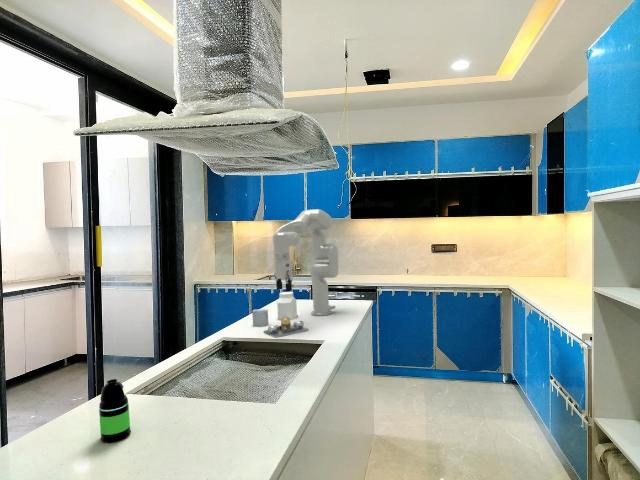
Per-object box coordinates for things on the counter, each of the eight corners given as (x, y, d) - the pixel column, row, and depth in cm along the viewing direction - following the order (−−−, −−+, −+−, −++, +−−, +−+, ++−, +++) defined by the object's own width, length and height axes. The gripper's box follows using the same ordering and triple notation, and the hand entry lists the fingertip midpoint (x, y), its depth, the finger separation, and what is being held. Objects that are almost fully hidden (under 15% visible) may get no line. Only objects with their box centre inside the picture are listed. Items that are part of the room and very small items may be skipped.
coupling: (287, 328, 218) (287, 316, 217) (292, 329, 214) (291, 318, 213) (279, 329, 215) (278, 318, 215) (284, 331, 211) (283, 319, 211)
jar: (289, 320, 240) (288, 294, 239) (275, 319, 244) (274, 294, 243) (299, 316, 250) (298, 291, 250) (285, 315, 254) (284, 291, 254)
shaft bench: (295, 326, 225) (295, 318, 225) (308, 330, 214) (308, 322, 214) (263, 332, 214) (263, 324, 214) (275, 337, 204) (275, 328, 203)
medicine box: (268, 324, 233) (267, 309, 233) (266, 326, 229) (266, 310, 229) (254, 324, 234) (254, 309, 234) (252, 326, 230) (252, 311, 229)
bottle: (99, 446, 106) (95, 388, 105) (101, 434, 112) (98, 379, 112) (130, 439, 109) (127, 382, 108) (131, 427, 115) (127, 374, 115)
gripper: (297, 257, 208) (299, 291, 209) (280, 255, 222) (282, 287, 223) (284, 258, 204) (286, 293, 205) (267, 257, 218) (269, 289, 219)
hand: (284, 290), depth 214 cm, fingers open, 9 cm apart
